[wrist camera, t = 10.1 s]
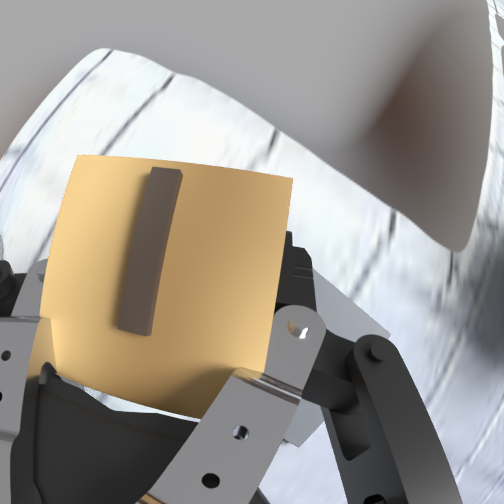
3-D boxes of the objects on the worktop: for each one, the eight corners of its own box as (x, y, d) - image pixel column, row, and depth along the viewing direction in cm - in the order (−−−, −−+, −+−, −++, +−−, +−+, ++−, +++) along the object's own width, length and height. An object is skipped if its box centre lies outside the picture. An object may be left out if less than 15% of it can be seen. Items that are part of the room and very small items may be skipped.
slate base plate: (134, 317, 26) (129, 317, 25) (228, 205, 28) (227, 200, 27) (295, 441, 25) (298, 447, 23) (384, 333, 27) (391, 334, 25)
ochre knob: (142, 335, 13) (29, 367, 5) (160, 231, 14) (72, 149, 6) (247, 356, 13) (254, 433, 5) (264, 248, 14) (295, 172, 6)
